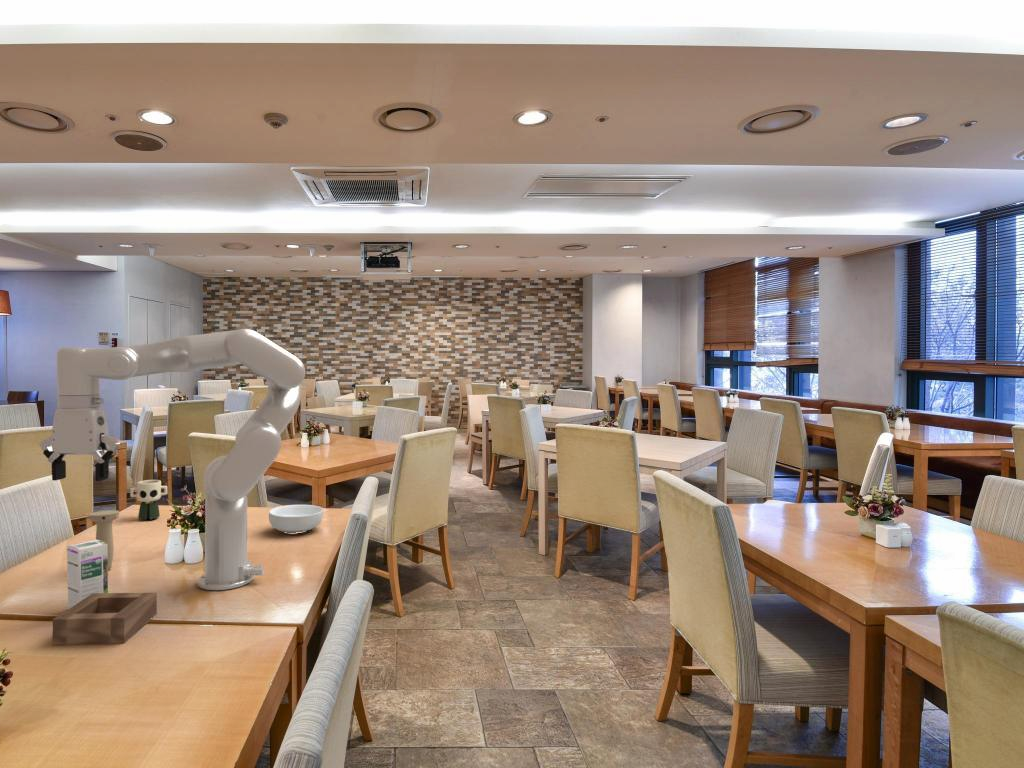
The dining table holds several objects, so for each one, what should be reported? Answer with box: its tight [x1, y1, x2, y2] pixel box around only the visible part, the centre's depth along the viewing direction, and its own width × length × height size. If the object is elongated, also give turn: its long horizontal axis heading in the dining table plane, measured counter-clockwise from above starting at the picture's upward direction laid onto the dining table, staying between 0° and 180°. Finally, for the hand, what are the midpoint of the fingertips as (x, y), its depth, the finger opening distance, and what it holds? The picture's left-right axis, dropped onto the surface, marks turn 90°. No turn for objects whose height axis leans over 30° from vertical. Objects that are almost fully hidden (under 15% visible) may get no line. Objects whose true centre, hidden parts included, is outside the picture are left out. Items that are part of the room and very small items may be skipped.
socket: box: [52, 591, 158, 646], centre depth 122 cm, size 13×13×5 cm
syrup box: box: [66, 538, 109, 610], centre depth 131 cm, size 6×6×14 cm
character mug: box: [129, 479, 168, 521], centre depth 204 cm, size 11×7×13 cm, turn 117°
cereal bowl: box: [268, 504, 324, 533], centre depth 194 cm, size 17×17×7 cm
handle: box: [88, 510, 120, 571], centre depth 155 cm, size 5×6×15 cm
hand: (80, 479), depth 132 cm, fingers open, 9 cm apart
